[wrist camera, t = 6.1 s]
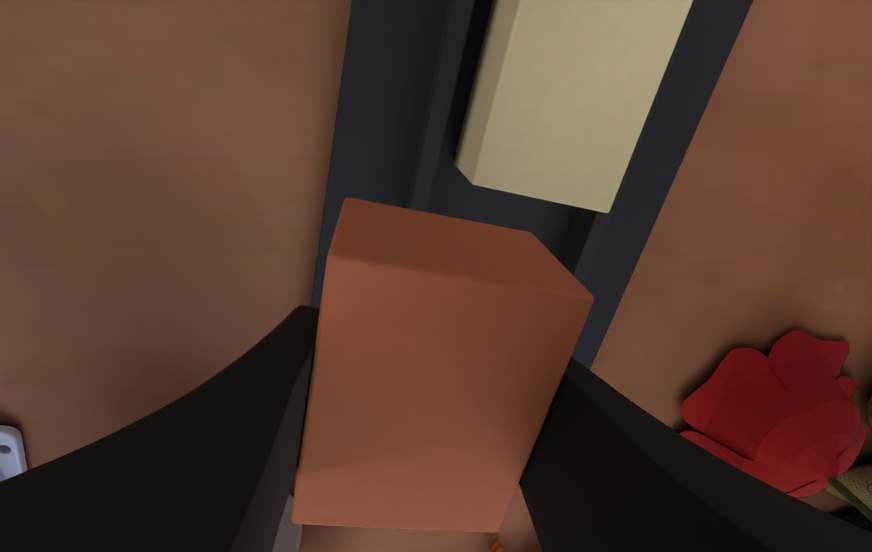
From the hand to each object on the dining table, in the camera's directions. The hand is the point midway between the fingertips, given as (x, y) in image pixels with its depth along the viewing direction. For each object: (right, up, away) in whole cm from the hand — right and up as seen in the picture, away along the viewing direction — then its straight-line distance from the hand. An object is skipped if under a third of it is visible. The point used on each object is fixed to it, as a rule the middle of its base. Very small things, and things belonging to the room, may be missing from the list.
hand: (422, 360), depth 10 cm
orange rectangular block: (0, +1, +1) cm, 1 cm away
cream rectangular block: (+4, +9, +6) cm, 11 cm away
